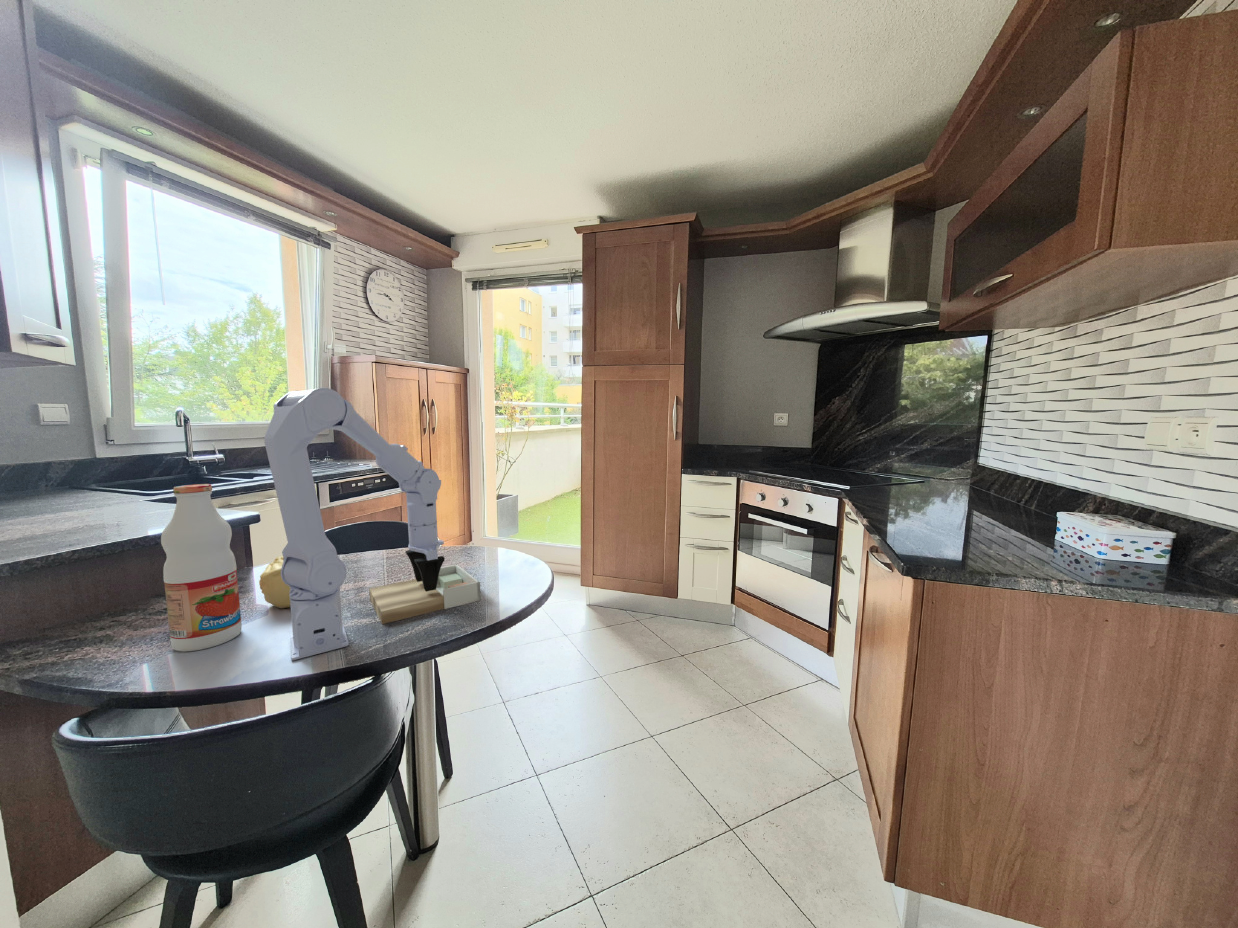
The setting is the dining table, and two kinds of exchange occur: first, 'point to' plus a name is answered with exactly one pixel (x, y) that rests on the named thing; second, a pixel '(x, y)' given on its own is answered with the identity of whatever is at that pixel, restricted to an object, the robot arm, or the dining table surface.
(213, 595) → the fruit juice
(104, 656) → the dining table surface
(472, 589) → the tray
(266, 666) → the dining table surface
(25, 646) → the dining table surface
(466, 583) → the tile
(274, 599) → the sculpture
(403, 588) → the board
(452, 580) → the tile
